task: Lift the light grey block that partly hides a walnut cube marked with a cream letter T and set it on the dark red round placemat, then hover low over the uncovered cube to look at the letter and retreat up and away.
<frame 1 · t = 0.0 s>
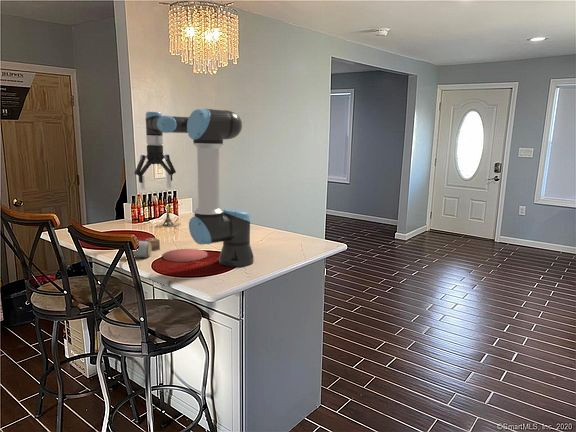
hand: (156, 188, 215), 28 cm above the worktop, tool pointing down, fingers open, 13 cm apart
eiffel tower figurine: (167, 226, 264), on the worktop
placemat: (185, 255, 200), on the worktop
light grey block: (141, 256, 198), on the worktop
walnut cube: (152, 249, 209), on the worktop
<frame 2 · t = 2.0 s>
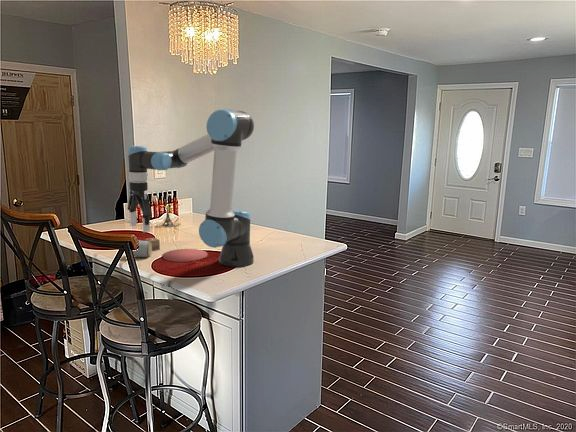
hand: (139, 228, 196), 13 cm above the worktop, tool pointing down, fingers open, 13 cm apart
nothing on the worktop moved.
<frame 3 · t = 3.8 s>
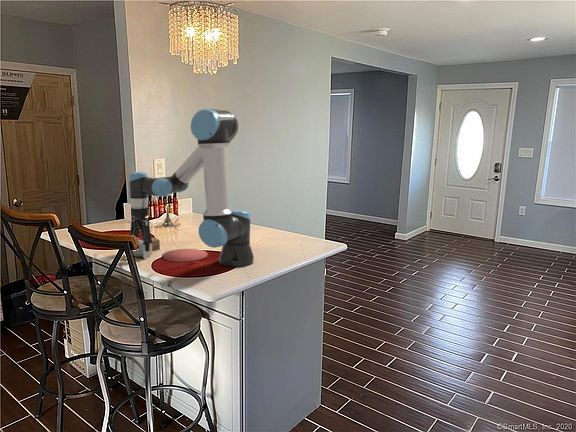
hand: (141, 255, 198), 0 cm above the worktop, tool pointing down, fingers closed on light grey block, 11 cm apart
light grey block: (142, 256, 199), on the worktop, touching gripper
everything else where it was.
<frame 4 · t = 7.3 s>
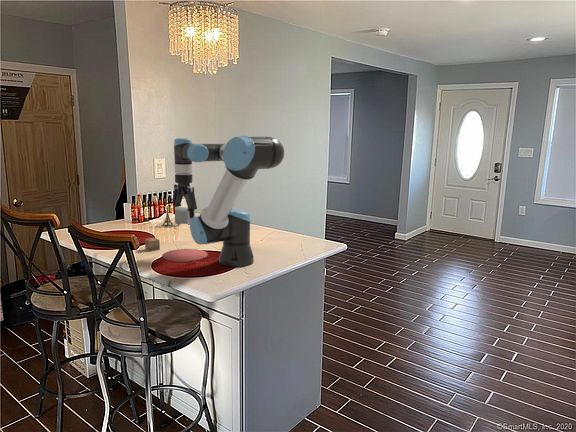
hand: (184, 222, 197), 15 cm above the worktop, tool pointing down, fingers closed on light grey block, 11 cm apart
light grey block: (185, 223, 198), point 15 cm above the worktop, touching gripper
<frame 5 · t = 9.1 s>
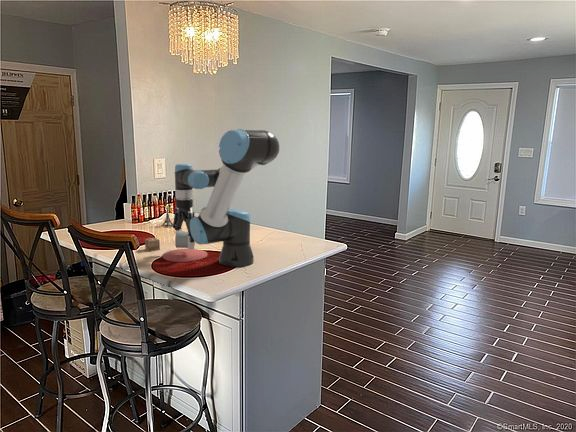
hand: (184, 246, 199), 4 cm above the worktop, tool pointing down, fingers closed on light grey block, 11 cm apart
light grey block: (185, 247, 201), point 4 cm above the worktop, touching gripper
when the fingers open (2 cm above the worktop, at t = 10.6 s): light grey block drops 1 cm, resting on placemat.
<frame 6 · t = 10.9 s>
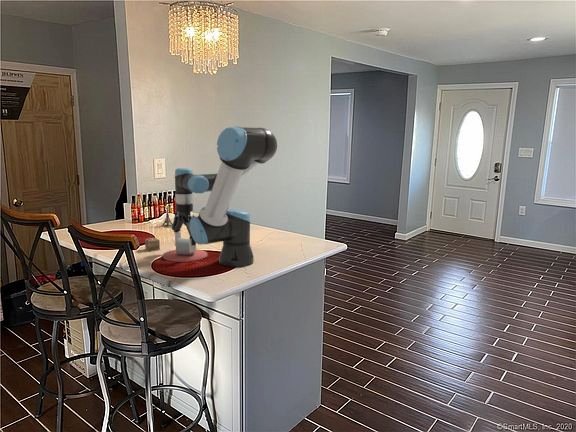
hand: (185, 248, 200), 3 cm above the worktop, tool pointing down, fingers open, 13 cm apart
light grey block: (186, 254, 201), resting on placemat
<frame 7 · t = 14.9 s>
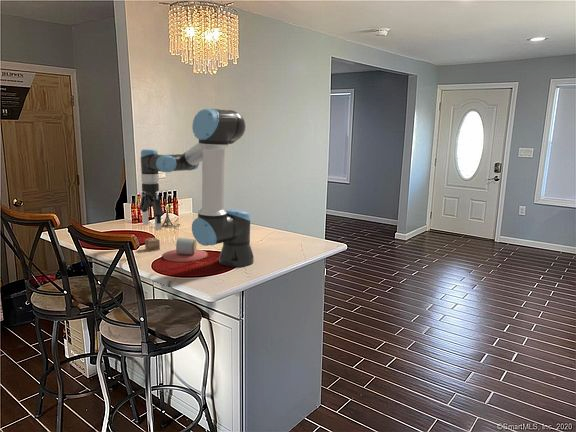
hand: (151, 227, 207), 11 cm above the worktop, tool pointing down, fingers open, 13 cm apart
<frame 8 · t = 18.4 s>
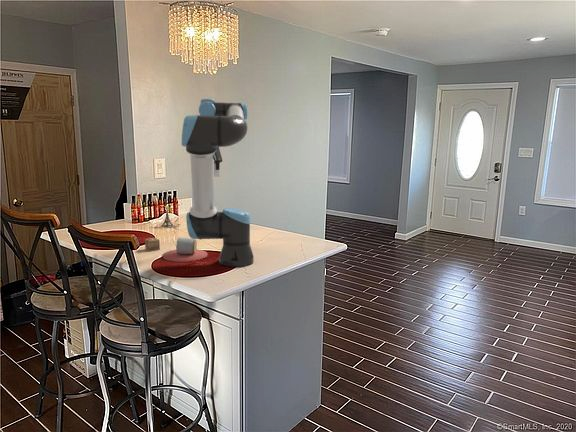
hand: (209, 175, 217), 35 cm above the worktop, tool pointing down, fingers open, 13 cm apart
at the end: light grey block inside the target area on the placemat (2.1 cm from its centre), point 0.4 cm above the placemat's base; light grey block tilted 1°; walnut cube moved 0.1 cm from its start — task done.
